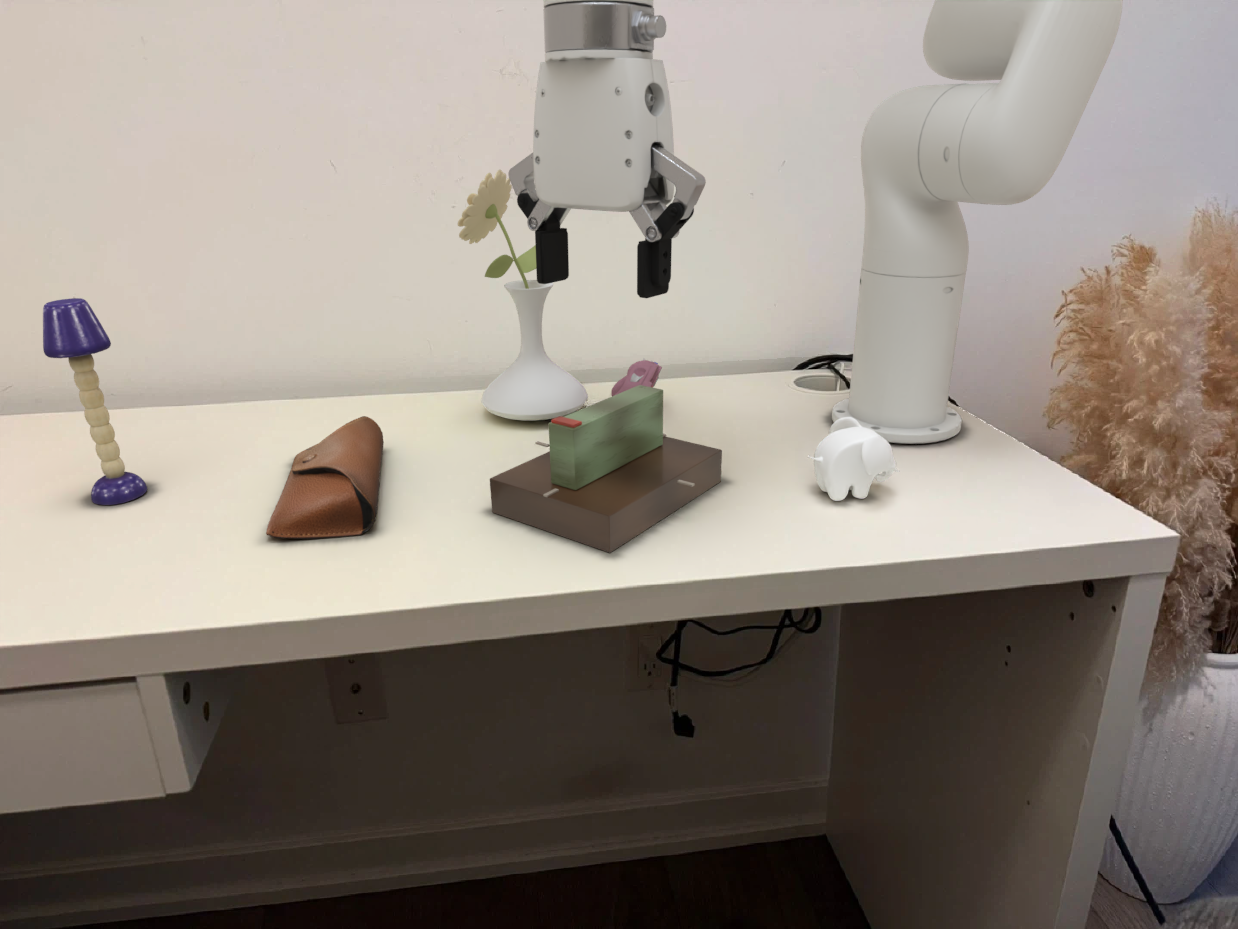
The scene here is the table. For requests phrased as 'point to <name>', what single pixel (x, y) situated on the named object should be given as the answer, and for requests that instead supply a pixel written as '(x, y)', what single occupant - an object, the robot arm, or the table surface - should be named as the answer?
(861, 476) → the elephant figurine
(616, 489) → the base
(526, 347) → the flower in vase
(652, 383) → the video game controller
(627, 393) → the green rectangular block
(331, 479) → the sunglasses case
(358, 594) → the table surface
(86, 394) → the toy lamp
